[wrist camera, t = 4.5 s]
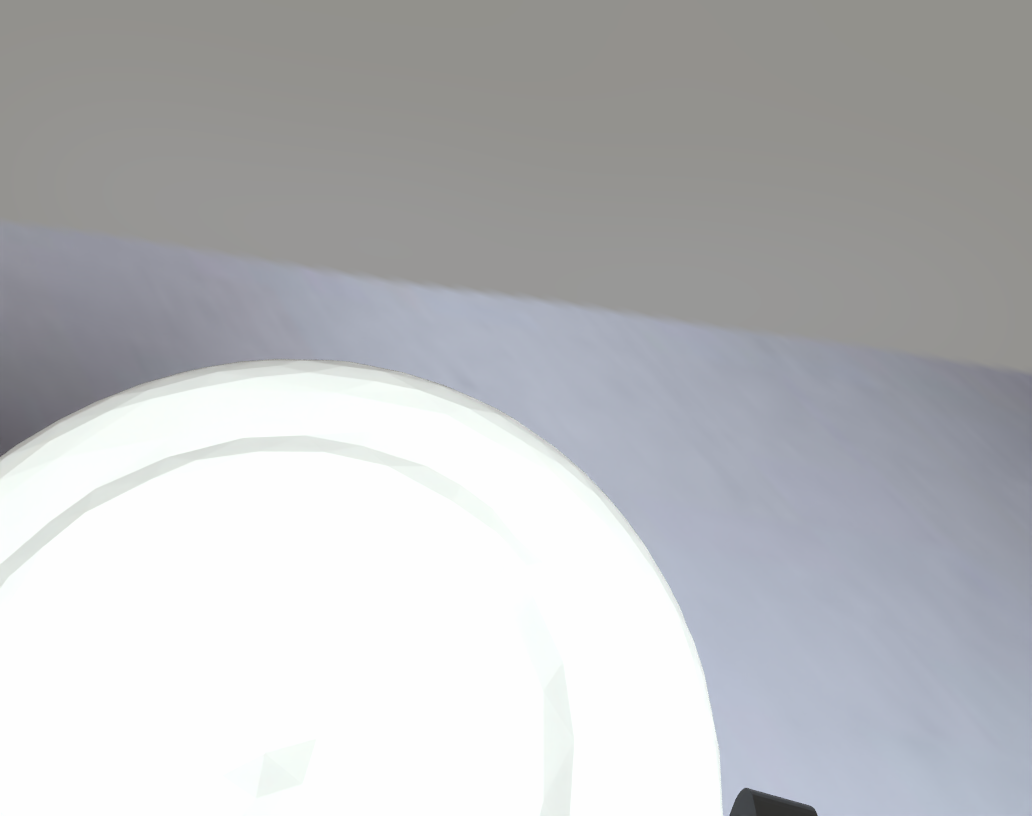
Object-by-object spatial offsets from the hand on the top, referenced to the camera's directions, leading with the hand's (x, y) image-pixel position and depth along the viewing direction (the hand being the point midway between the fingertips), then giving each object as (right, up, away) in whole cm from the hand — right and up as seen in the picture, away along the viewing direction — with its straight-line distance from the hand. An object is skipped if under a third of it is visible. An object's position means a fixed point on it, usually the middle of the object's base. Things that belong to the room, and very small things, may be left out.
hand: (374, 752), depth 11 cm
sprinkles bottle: (-1, -4, +6) cm, 7 cm away
